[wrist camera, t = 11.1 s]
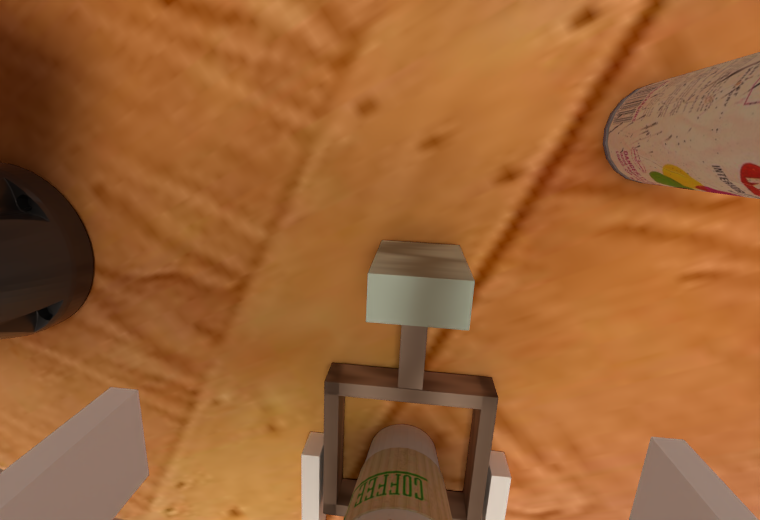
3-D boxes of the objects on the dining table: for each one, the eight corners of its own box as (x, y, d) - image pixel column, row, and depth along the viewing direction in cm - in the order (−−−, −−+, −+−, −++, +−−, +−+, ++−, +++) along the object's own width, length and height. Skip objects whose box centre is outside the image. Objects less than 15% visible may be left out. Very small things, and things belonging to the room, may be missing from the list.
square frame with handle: (330, 487, 39) (301, 595, 30) (334, 234, 33) (299, 268, 23) (474, 504, 38) (493, 621, 29) (509, 245, 32) (548, 286, 22)
